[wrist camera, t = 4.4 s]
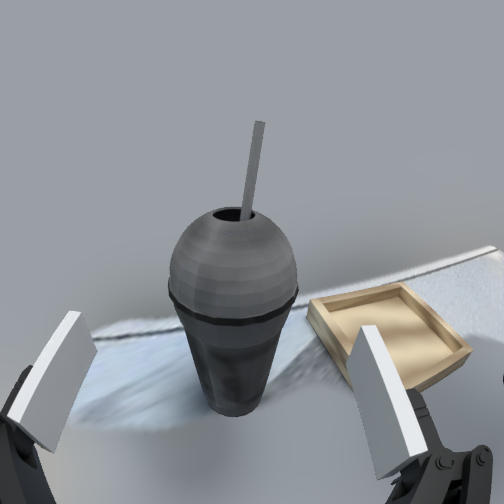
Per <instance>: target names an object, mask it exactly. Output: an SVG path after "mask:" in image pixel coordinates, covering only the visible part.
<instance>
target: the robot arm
mask: <svg viewBox="0 0 504 504" xmlns="http://www.w3.org/2000/svg"><path fill="white" fill-rule="evenodd" d="M96 353H97V349H96V347H95V345H94V342H93V340H92V338H91V335H90V333H89V331H88V328H87V326H86V323H85V322H84V319H83V316H82V313H81V312H76V311H69V312H68V313H67V315H66V316H65V318H64V319H63V321H62V322H61V324H60V325H59V326H58V328H57V329H56V331H55V332H54V334H53V335H52V337H51V339H50V340H49V342H48V343H47V345H46V346H45V348H44V350H43V351H42V353H41V354H40V356H39V358H38V359H37V361H36V363H35V364H34V366H32V365H29V366H28V367H27V368H26V369H25V370H24V371H23V372H22V373H21V375H20V377H19V379H18V382H16V384H15V386H14V388H13V389H12V391H11V393H10V395H9V397H8V399H7V401H6V403H5V405H4V407H3V409H2V411H1V412H0V504H56V502H55V500H54V497H53V495H52V493H51V490H50V488H49V485H48V483H47V480H46V477H45V475H44V472H43V469H42V466H41V463H40V460H39V457H38V454H37V450H36V448H35V446H34V443H37V444H38V445H39V446H40V447H41V448H43V449H45V450H47V451H49V452H51V453H53V454H54V452H55V450H56V447H57V444H58V441H59V439H60V436H61V433H62V431H63V428H64V426H65V423H66V420H67V418H68V415H69V413H70V411H71V408H72V406H73V403H74V401H75V399H76V396H77V394H78V392H79V390H80V387H81V385H82V383H83V381H84V378H85V376H86V374H87V372H88V370H89V368H90V366H91V364H92V361H93V359H94V357H95V355H96ZM346 367H347V370H348V374H349V377H350V380H351V384H352V387H353V390H354V394H355V397H356V401H357V404H358V408H359V411H360V415H361V418H362V422H363V426H364V430H365V433H366V437H367V441H368V445H369V448H370V453H371V457H372V461H373V465H374V469H375V474H376V478H377V480H380V479H383V478H387V477H390V476H393V475H395V474H396V473H398V472H399V471H400V473H401V476H400V477H398V478H397V479H395V480H394V481H393V482H392V483H391V485H393V484H395V483H396V485H395V487H394V489H393V491H392V493H391V495H390V496H389V498H388V500H387V502H386V503H385V504H489V502H490V494H491V483H492V464H493V456H492V452H491V450H490V449H489V448H488V447H487V446H485V445H479V446H477V447H476V448H475V449H474V450H472V451H468V452H457V453H456V452H452V451H451V450H449V449H447V448H444V446H443V445H442V443H441V441H440V438H439V436H438V433H437V430H436V428H435V425H434V423H433V420H432V418H431V416H430V413H429V411H428V408H426V404H425V401H424V399H423V397H422V395H421V394H420V393H419V392H418V391H417V390H416V389H415V388H411V389H406V390H405V388H404V386H403V384H402V381H401V379H400V377H399V374H398V372H397V370H396V368H395V365H394V363H393V361H392V359H391V357H390V354H389V352H388V350H387V348H386V346H385V344H384V341H383V339H382V337H381V335H380V333H379V331H378V329H377V327H376V325H366V326H361V327H360V330H359V332H358V335H357V338H356V340H355V343H354V345H353V348H352V350H351V353H350V355H349V358H348V360H347V362H346Z"/></svg>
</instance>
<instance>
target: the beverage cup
mask: <svg viewBox="0 0 504 504" xmlns="http://www.w3.org/2000/svg"><path fill="white" fill-rule="evenodd" d="M264 127H265V122H262V121H255V124H254V130H253V136H252V143H251V149H250V156H249V162H248V169H247V175H246V182H245V189H244V195H243V202H242V207H225V208H219V209H217V210H213V211H210V212H208V213H206V214H204V215H202V216H201V217H199V218H198V219H196V220H195V221H194V222H193V223H191V224H190V226H188V227H187V229H186V230H185V231H184V232H183V234H182V236H181V237H180V239H179V241H178V243H177V245H176V247H175V248H174V251H173V254H172V258H171V263H170V277H169V281H168V290H169V297H170V298H171V300H172V301H173V302H174V307H175V310H176V312H177V314H178V317H179V319H180V322H181V323H182V325H183V326H184V329H185V332H186V336H187V340H188V343H189V347H190V350H191V353H192V357H193V360H194V364H195V367H196V370H197V373H198V376H199V380H200V383H201V386H202V389H203V392H204V394H205V396H206V398H207V400H208V403H209V405H210V406H211V408H212V409H213V410H215V411H216V412H217V413H219V414H222V415H224V416H227V417H239V416H244V415H247V414H248V413H250V412H252V411H253V410H254V409H255V408H256V407H257V406H258V404H259V402H260V399H261V397H262V394H263V392H264V389H265V386H266V382H267V379H268V376H269V372H270V369H271V366H272V362H273V359H274V355H275V352H276V348H277V344H278V341H279V337H280V334H281V330H282V328H283V326H284V324H285V322H286V319H287V317H288V315H289V312H290V309H291V307H292V304H293V303H294V302H295V300H296V297H297V294H298V291H299V289H298V283H297V268H296V262H295V258H294V254H293V251H292V247H291V245H290V243H289V241H288V239H287V237H286V236H285V235H284V233H283V232H282V231H281V229H280V228H279V227H278V226H277V225H276V224H275V223H273V222H272V221H271V220H270V219H269V218H267V217H266V216H264V215H262V214H260V213H258V212H256V211H253V210H252V203H253V197H254V191H255V184H256V178H257V171H258V165H259V158H260V151H261V146H262V139H263V133H264Z"/></svg>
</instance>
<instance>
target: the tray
mask: <svg viewBox="0 0 504 504" xmlns="http://www.w3.org/2000/svg"><path fill="white" fill-rule="evenodd" d="M307 319H308V320H309V322H310V324H311V325H312V327H313V328H314V330H315V331H316V333H317V335H318V336H319V338H320V339H321V341H322V343H323V344H324V346H325V347H326V349H327V351H328V352H329V354H330V355H331V357H332V358H333V360H334V362H335V363H336V365H337V366H338V368H339V370H340V371H341V373H342V374H343V376H344V378H345V379H346V381H347V382H348V384H349V386H350V387H351V389H352V391H353V392H354V390H353V387H352V384H351V380H350V377H349V374H348V370H347V367H346V362H347V360H348V358H349V355H350V353H351V350H352V348H353V345H354V343H355V340H356V338H357V335H358V332H359V330H360V327H361V326H366V325H376V327H377V329H378V331H379V333H380V335H381V337H382V339H383V341H384V344H385V346H386V348H387V350H388V352H389V354H390V357H391V359H392V361H393V363H394V365H395V368H396V370H397V372H398V374H399V377H400V379H401V381H402V384H403V386H404V388H405V390H406V389H411V388H415V389H416V390H417V391H418V392H419V393H420V392H422V391H424V390H425V389H427V388H429V387H431V386H432V385H434V384H435V383H437V382H439V381H440V380H442V379H443V378H445V377H446V376H448V375H449V374H451V373H452V372H454V371H455V370H457V369H458V368H460V367H461V366H463V364H464V363H465V361H466V360H467V358H468V357H469V355H470V354H471V352H472V351H473V349H472V348H471V347H470V346H469V345H468V344H467V343H466V342H465V340H464V339H463V338H462V337H461V336H460V335H459V334H458V333H457V332H456V331H455V330H454V329H453V328H452V327H451V326H450V325H449V324H448V323H447V322H446V321H445V320H443V319H442V318H441V317H440V316H439V315H438V314H437V313H436V312H435V311H434V310H433V309H432V308H431V307H430V306H429V305H428V304H427V303H426V302H425V301H423V300H422V299H421V298H420V297H419V296H418V295H417V294H416V293H415V292H414V291H413V290H411V289H410V288H409V287H408V286H407V285H406V284H405V283H404V282H397V283H393V284H388V285H384V286H379V287H374V288H369V289H364V290H359V291H354V292H349V293H344V294H338V295H333V296H327V297H322V298H316V299H310V302H309V307H308V312H307Z"/></svg>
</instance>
